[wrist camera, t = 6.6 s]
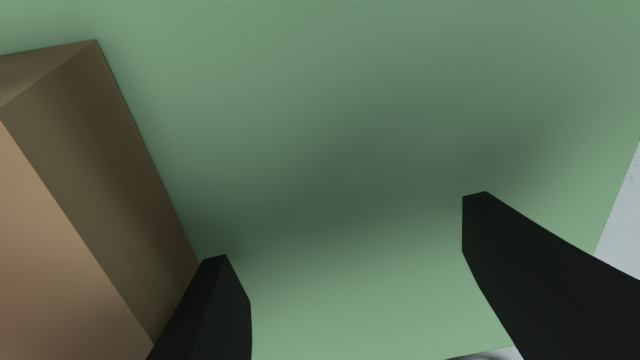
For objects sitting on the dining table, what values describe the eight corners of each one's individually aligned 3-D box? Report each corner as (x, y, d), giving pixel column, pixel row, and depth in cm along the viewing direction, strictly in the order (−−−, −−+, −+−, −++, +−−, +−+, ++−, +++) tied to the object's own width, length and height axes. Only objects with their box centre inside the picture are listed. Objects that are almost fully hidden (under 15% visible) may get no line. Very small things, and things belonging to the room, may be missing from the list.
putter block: (95, 39, 8) (-6, 111, 5) (243, 359, 15) (238, 467, 12) (-106, 73, 8) (-332, 167, 5) (139, 379, 14) (108, 492, 12)
